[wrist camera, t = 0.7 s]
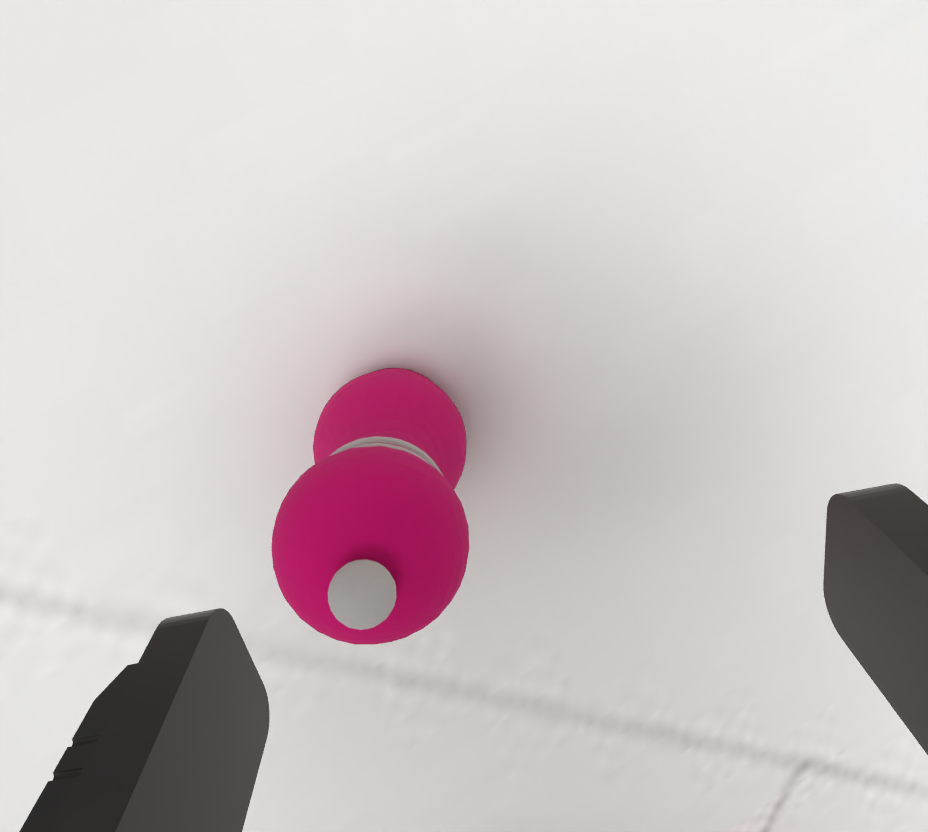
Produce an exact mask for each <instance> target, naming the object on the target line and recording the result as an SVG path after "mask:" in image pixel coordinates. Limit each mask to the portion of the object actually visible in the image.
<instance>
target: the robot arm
mask: <svg viewBox="0 0 928 832" xmlns="http://www.w3.org/2000/svg"><path fill="white" fill-rule="evenodd" d="M824 597H825V602H826V606H827V609H828V612H829V615H830V618H831V620H832V622H833V624H834V627H835V628H836V630H837V632H838V634H839V635H840V637H841V638H842V640H843V641H844V642H845V644H846V645H847V646H848V648H849V649H850V650H851V652H852V653H853V654H854V656H855V657H856V658H857V660H858V661H859V663H860V664H861V665H862V667H863V668H864V669H865V671H866V672H867V673H868V675H869V676H870V677H871V679H872V680H873V681H874V683H875V684H876V686H877V687H878V688H879V690H880V691H881V692H882V694H883V695H884V696H885V698H886V699H887V700H888V702H889V703H890V705H891V706H892V707H893V709H894V710H895V711H896V713H897V714H898V715H899V717H900V718H901V719H902V721H903V722H904V723H905V725H906V726H907V728H908V729H909V730H910V732H911V733H912V734H913V736H914V737H915V738H916V740H917V741H918V742H919V744H920V745H921V746H922V748H923V749H924V751H925V752H926V753H927V755H928V505H927V504H926V503H925V502H924V501H922V500H921V499H920V498H919V497H918V496H917V495H915V494H914V493H913V492H912V491H911V490H909V489H908V488H907V487H905V486H903V485H901V484H889V485H884V486H878V487H873V488H867V489H862V490H856V491H851V492H845V493H840V494H835V495H833V496H832V497H831V499H830V500H829V503H828V507H827V523H826V543H825V564H824ZM268 729H269V704H268V697H267V693H266V690H265V687H264V684H263V682H262V680H261V678H260V676H259V674H258V671H257V669H256V667H255V665H254V663H253V661H252V658H251V656H250V654H249V652H248V650H247V648H246V645H245V643H244V641H243V639H242V637H241V635H240V633H239V630H238V628H237V626H236V624H235V622H234V620H233V618H232V616H231V615H230V614H229V612H228V611H226V610H225V609H214V610H209V611H203V612H198V613H192V614H187V615H181V616H176V617H170V618H166V619H165V620H163V621H162V622H161V623H160V624H159V625H158V627H157V629H156V630H155V632H154V634H153V636H152V638H151V640H150V642H149V644H148V645H147V647H146V649H145V651H144V653H143V655H142V657H141V659H140V661H139V662H138V663H137V664H132V665H128V666H127V667H126V668H125V669H124V670H123V671H122V672H121V673H120V674H119V675H118V676H117V677H116V678H115V679H114V680H113V681H112V682H111V683H110V684H109V685H108V687H107V688H106V689H105V690H104V691H103V692H102V693H101V694H100V695H99V696H98V697H97V698H96V699H95V700H94V702H93V703H92V705H91V707H90V709H89V711H88V712H87V714H86V716H85V718H84V719H83V721H82V723H81V725H80V726H79V728H78V730H77V732H76V733H75V735H74V737H73V739H72V741H73V745H72V747H67V749H66V751H65V753H64V754H63V756H62V758H61V760H60V762H59V763H58V765H57V767H56V769H55V770H54V772H53V774H54V779H53V781H48V783H47V784H46V786H45V788H44V790H43V791H42V793H41V795H40V797H39V798H38V800H37V802H36V804H35V805H34V807H33V809H32V811H31V813H30V814H29V816H28V818H27V820H26V821H25V823H24V825H23V827H22V828H21V830H20V832H242V829H243V825H244V822H245V818H246V814H247V810H248V807H249V803H250V799H251V796H252V792H253V788H254V784H255V781H256V777H257V773H258V769H259V766H260V762H261V758H262V754H263V751H264V747H265V743H266V739H267V735H268Z"/></svg>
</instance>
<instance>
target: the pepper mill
mask: <svg viewBox="0 0 928 832" xmlns="http://www.w3.org/2000/svg"><path fill="white" fill-rule="evenodd" d="M313 450H314V460H315V465H313V466H312V467H311V468H309V469H308V470H307V471H306V472H305V473H304V474H303V475H301V476H300V478H299V479H298V480H297V481H296V482H295V484H294V485H293V486H292V487H291V489H290V490H289V492H288V493H287V495H286V497H285V498H284V500H283V502H282V504H281V506H280V509H279V512H278V514H277V517H276V521H275V526H274V530H273V536H272V558H273V568H274V571H275V574H276V578H277V581H278V584H279V587H280V589H281V591H282V593H283V595H284V597H285V599H286V601H287V602H288V603H289V605H290V606H291V607H292V608H293V610H294V611H295V612H296V613H297V615H298V616H299V617H300V618H301V619H302V620H303V621H305V622H306V623H307V624H309V625H310V626H311V627H313V628H314V629H315V630H317V631H318V632H320V633H322V634H325V635H327V636H329V637H331V638H333V639H336V640H339V641H343V642H348V643H352V644H379V643H386V642H391V641H395V640H398V639H401V638H405V637H407V636H409V635H411V634H413V633H415V632H417V631H419V630H421V629H423V628H424V627H425V626H427V625H428V624H429V623H431V622H432V621H433V620H435V619H436V618H437V617H438V616H439V615H440V614H441V613H442V611H443V610H444V609H445V608H446V607H447V605H448V604H449V603H450V602H451V600H452V599H453V597H454V595H455V594H456V592H457V590H458V589H459V587H460V584H461V582H462V579H463V576H464V573H465V570H466V564H467V558H468V552H469V532H468V524H467V520H466V517H465V513H464V510H463V507H462V504H461V502H460V500H459V498H458V497H457V495H456V493H455V491H454V488H455V487H456V485H457V483H458V481H459V479H460V477H461V475H462V471H463V467H464V464H465V456H466V433H465V428H464V424H463V421H462V418H461V416H460V414H459V412H458V410H457V408H456V406H455V405H454V403H453V402H452V401H451V399H450V398H449V397H448V395H447V394H446V393H445V392H443V391H442V390H441V389H440V388H439V387H438V386H437V385H435V384H434V383H433V382H432V381H430V380H429V379H428V378H426V377H424V376H423V375H421V374H419V373H416V372H414V371H411V370H407V369H400V368H387V369H382V370H377V371H374V372H371V373H368V374H365V375H362V376H360V377H357V378H355V379H353V380H351V381H350V382H348V383H347V384H345V385H344V386H343V387H341V388H340V389H339V390H338V391H337V392H336V393H335V394H334V395H333V396H332V397H331V399H330V400H329V401H328V403H327V404H326V405H325V407H324V409H323V411H322V413H321V415H320V418H319V421H318V424H317V427H316V430H315V436H314V444H313Z"/></svg>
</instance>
